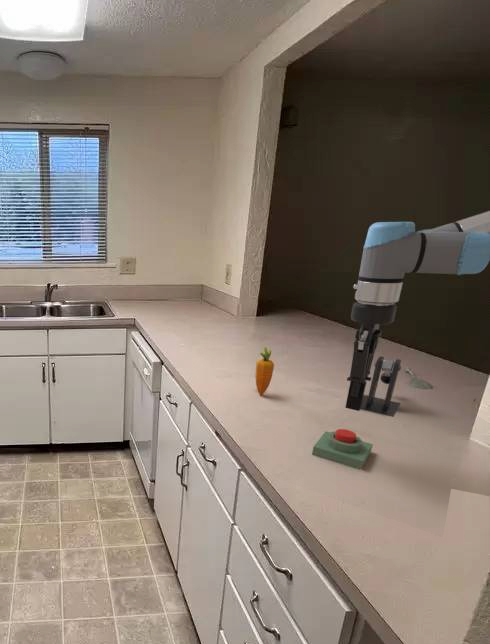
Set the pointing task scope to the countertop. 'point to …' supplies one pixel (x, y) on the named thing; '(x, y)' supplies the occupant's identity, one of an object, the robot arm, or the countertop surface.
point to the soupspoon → (417, 381)
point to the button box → (342, 450)
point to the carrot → (264, 372)
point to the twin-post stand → (386, 405)
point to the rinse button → (345, 436)
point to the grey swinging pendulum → (387, 371)
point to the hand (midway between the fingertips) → (352, 408)
